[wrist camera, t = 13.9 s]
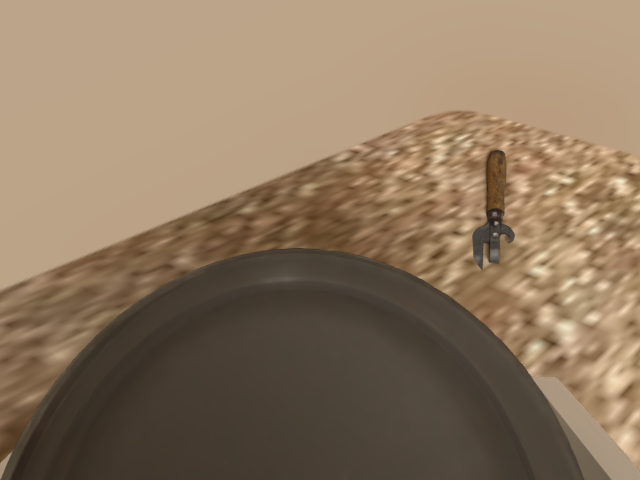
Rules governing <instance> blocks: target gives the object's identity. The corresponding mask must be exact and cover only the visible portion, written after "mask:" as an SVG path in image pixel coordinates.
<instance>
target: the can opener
mask: <svg viewBox="0 0 640 480" xmlns="http://www.w3.org/2000/svg"><path fill="white" fill-rule="evenodd" d="M505 182H506V158H505V153H504V152H503V151H500V150H495V151H493V152H491V153H490V155H489V161H488V171H487V183H488V204H487V215H488V220H489V222H488V223H487V224H486V225H485V226H483V227H480V228H478V229H476V231H475V232H474V234H473V255H474V259H475V261H476V262H477V264H478V265H479V267H480V268H481V269H482V267H483V244H484V242H485V243H490V260H489V262H491V263H499V258H500V243H499V242H500V235H502V234H507V235H508V236H509V242H508V243H511V242H512V241H513V240H514V236H515V235H514V232H513V230H512V229H511V228H510V227H509V226H506V225H503V224H501V223H500V222H502V220H503V216H504V189H505Z"/></svg>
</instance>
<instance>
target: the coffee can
mask: <svg viewBox="0 0 640 480" xmlns="http://www.w3.org/2000/svg"><path fill="white" fill-rule="evenodd" d="M1 480H584V477H583V474H582V472H581V469H580V467H579V464H578V461H577V459H576V456H575V454H574V452H573V450H572V448H571V446H570V443H569V440H568V438H567V436H566V434H565V432H564V430H563V428H562V427H561V425H560V423H559V421H558V419H557V417H556V415H555V413H554V411H553V409H552V407H551V406H550V404H549V402H548V400H547V399H546V397H545V396H544V394H543V392H542V391H541V390H540V388H539V387H538V385H537V384H536V383H535V381H534V380H533V378H532V377H531V376H530V374H529V373H528V371H527V370H526V369H525V367H524V366H523V365H522V364H521V362H520V361H519V360H518V359H517V358H516V356H515V355H514V354H513V353H512V352H511V351H510V350H509V348H508V347H507V346H506V345H505V344H504V343H503V342H502V341H501V340H500V339H499V338H498V337H497V336H495V335H494V333H493V332H492V331H491V330H490V329H489V328H488V327H487V326H486V325H485V324H483V323H482V322H481V321H480V320H479V319H477V318H476V317H475V316H474V315H473V314H471V313H470V312H469V311H468V310H466V309H465V308H464V307H462V306H461V305H460V304H459V303H457V302H456V301H455V300H453V299H452V298H451V297H450V296H448V295H446V294H445V293H443V292H441V291H439V290H438V289H436V288H434V287H433V286H431V285H430V284H428V283H427V282H425V281H424V280H422V279H420V278H418V277H416V276H413V275H411V274H409V273H407V272H405V271H403V270H400V269H398V268H395V267H392V266H390V265H387V264H385V263H382V262H379V261H376V260H373V259H370V258H366V257H362V256H358V255H354V254H349V253H344V252H335V251H326V250H318V249H303V248H291V249H278V250H268V251H260V252H255V253H251V254H245V255H240V256H236V257H232V258H228V259H225V260H221V261H217V262H214V263H212V264H209V265H207V266H204V267H201V268H199V269H196V270H194V271H192V272H189V273H187V274H185V275H183V276H181V277H179V278H177V279H175V280H173V281H171V282H169V283H167V284H165V285H163V286H162V287H160V288H159V289H157V290H155V291H154V292H152V293H151V294H149V295H147V296H146V297H144V298H143V299H142V300H140V301H139V302H137V303H136V304H134V305H133V306H131V307H130V308H129V309H127V310H126V311H124V312H123V313H122V314H120V315H119V316H118V317H117V318H116V319H115V320H114V321H112V322H111V323H110V324H109V325H108V326H107V327H106V328H105V329H103V330H102V331H101V332H100V333H99V334H98V335H97V336H96V337H95V338H94V339H93V340H92V341H91V342H90V343H89V344H88V345H87V346H86V347H85V348H84V349H83V350H82V351H81V352H80V353H79V354H78V355H77V356H76V358H75V359H74V360H73V361H72V363H71V364H70V365H69V366H68V367H67V369H66V370H65V371H64V372H63V373H62V375H61V376H60V377H59V378H58V380H57V381H56V382H55V383H54V385H53V386H52V387H51V389H50V390H49V392H48V393H47V395H46V396H45V398H44V399H43V400H42V402H41V403H40V405H39V406H38V408H37V409H36V411H35V413H34V414H33V416H32V418H31V420H30V421H29V423H28V425H27V426H26V428H25V430H24V432H23V433H22V435H21V437H20V439H19V441H18V442H17V444H16V446H15V448H14V450H13V452H12V454H11V456H10V458H9V460H8V462H7V465H6V467H5V470H4V472H3V475H2V477H1Z"/></svg>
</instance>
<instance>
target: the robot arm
mask: <svg viewBox="0 0 640 480" xmlns="http://www.w3.org/2000/svg"><path fill="white" fill-rule="evenodd" d="M532 378H533V380H534V381H535V383H536V384H537V385H538V387H539V388H540V390H541V391H542V392H543V394H544V396H545V397H546V399H547V400H548V402H549V404H550V406H551V407H552V409H553V411H554V413H555V415H556V417H557V419H558V421H559V423H560V425H561V427H562V428H563V430H564V432H565V434H566V436H567V438H568V440H569V443H570V446H571V448H572V450H573V452H574V454H575V456H576V459H577V461H578V464H579V467H580V469H581V472H582V474H583V477H584V480H640V470H639V468H638V467H637V466H636V465H635V464H634V463H633V462H632V461H631V460H630V458H629V457H628V456H627V455H626V454H625V453H624V452H623V451H622V450H621V448H620V447H619V446H618V445H617V444H616V443H615V442H614V441H613V439H612V438H611V437H610V436H609V435H608V434H607V433H606V432H605V431H604V429H603V428H602V427H601V426H600V425H599V424H598V423H597V422H596V421H595V419H594V418H593V417H592V416H591V415H590V414H589V413H588V412H587V410H586V409H585V408H584V407H583V406H582V405H581V404H580V403H579V402H578V400H577V399H576V398H575V397H574V396H573V395H572V394H571V393H570V392H569V390H568V389H567V388H566V387H565V386H564V385H563V384H562V383H561V382H560V380H559V379H558V378H557V377H532ZM12 452H13V451H12ZM12 452H11V453H10V454H9V455H8V456H7V457H6V458H5V459H4V460H3V461H2V462H1V463H0V480H1V477H2V475H3V472H4V470H5V467H6V465H7V462H8V460H9V458H10V456H11V454H12Z"/></svg>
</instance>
